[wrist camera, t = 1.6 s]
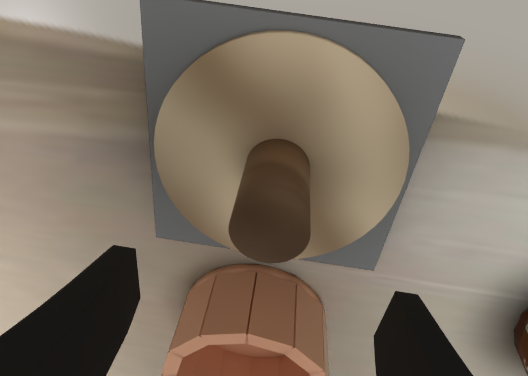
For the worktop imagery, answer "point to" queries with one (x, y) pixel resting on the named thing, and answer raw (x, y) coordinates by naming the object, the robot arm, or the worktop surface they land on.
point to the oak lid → (281, 145)
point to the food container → (522, 338)
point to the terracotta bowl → (249, 326)
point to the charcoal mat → (340, 31)
